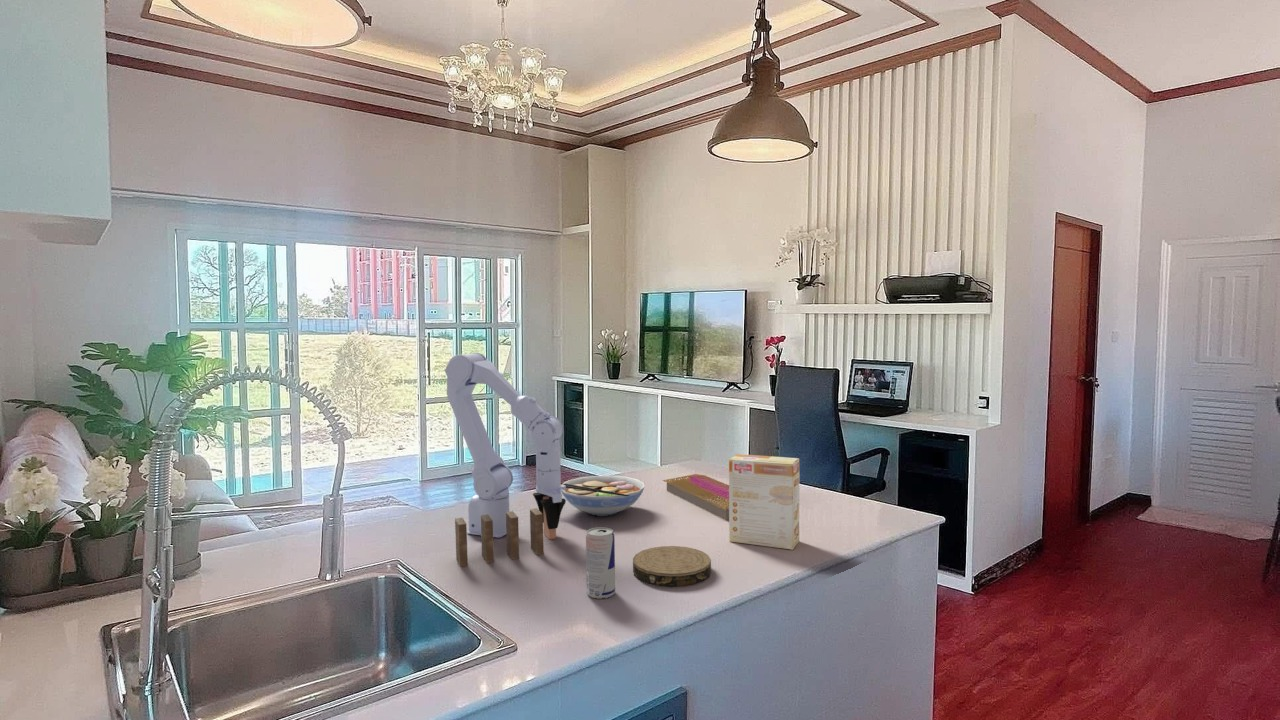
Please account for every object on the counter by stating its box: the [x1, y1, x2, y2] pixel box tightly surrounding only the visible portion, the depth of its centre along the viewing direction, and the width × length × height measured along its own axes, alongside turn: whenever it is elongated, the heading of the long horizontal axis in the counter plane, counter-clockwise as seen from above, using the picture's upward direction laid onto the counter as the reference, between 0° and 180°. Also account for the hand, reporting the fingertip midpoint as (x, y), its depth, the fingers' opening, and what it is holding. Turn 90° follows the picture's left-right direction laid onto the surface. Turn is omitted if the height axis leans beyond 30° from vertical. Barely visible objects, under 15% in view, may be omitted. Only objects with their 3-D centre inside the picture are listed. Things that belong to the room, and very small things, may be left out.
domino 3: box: [505, 510, 520, 560], centre depth 152 cm, size 2×5×9 cm, turn 24°
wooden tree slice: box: [632, 545, 712, 588], centre depth 141 cm, size 16×16×3 cm
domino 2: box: [480, 514, 495, 564], centre depth 149 cm, size 2×5×9 cm, turn 24°
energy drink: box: [585, 526, 616, 600], centre depth 130 cm, size 5×5×12 cm
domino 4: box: [529, 507, 545, 556], centre depth 154 cm, size 2×5×9 cm, turn 24°
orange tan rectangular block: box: [543, 496, 557, 540], centre depth 164 cm, size 2×5×9 cm, turn 24°
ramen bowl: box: [561, 475, 646, 517], centre depth 183 cm, size 25×23×8 cm
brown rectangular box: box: [662, 473, 729, 521], centre depth 193 cm, size 35×14×6 cm, turn 25°
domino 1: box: [454, 517, 469, 567], centre depth 147 cm, size 2×5×9 cm, turn 23°
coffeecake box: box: [728, 453, 801, 551], centre depth 158 cm, size 15×7×20 cm, turn 65°
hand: (549, 525), depth 164 cm, fingers closed on orange tan rectangular block, 5 cm apart
